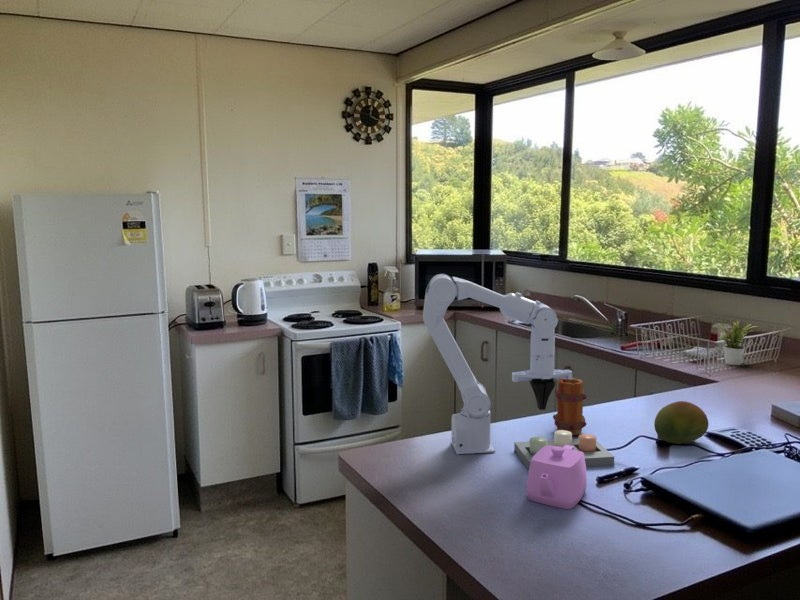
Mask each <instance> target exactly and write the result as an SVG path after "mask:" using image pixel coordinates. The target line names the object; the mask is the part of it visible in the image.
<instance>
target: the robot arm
mask: <svg viewBox="0 0 800 600" xmlns="http://www.w3.org/2000/svg"><path fill="white" fill-rule="evenodd" d="M468 298H470V299H473V300H476V301H479V302H481V303H484V304H487V305H491V306H494V307H496V308H499V311H500V313H501V314H502V316H505V317H507V318H510V319H513V320H515V321H518V322H520V323H523V324H526V325H529V324H531V331H530V332H531V333H530V347H529V348H530V351H529V354H530V356H529V359H530V360H529V363H530V366H529V367H530V369H527V370H522V371H516V372H515V371H513V372H512V373H511V381H512V382H514V383H518V382H529V384H530V386H531V388H532V391H533V393H534V396H535V401H536V405H537V408H538V409H539V410H540V411H543V410H546V409H547V404H548V401H549V398H550V395H551V393H552V392H553V390H554V388H555V387H556V382H555V380H560V379H568V380H570V379H572V378H573V371H572V370H571V369H555V347H556V346H555V344H556V341H555V340H556V337H555V331H556V329H555V328H556V327H557V325H558V324H559V318H558V317H557V314H556V312H555V310H554V309H552V308H551V307H550V306H548V305H547V304H545V303H543V302H540V301H539V300H537V299H536V300H535V301H534V300H532V299H529V298H526V297H525V296H522V293H520V292H517V291H516V292H515V293H513V292H509V293H507V294H501V293H498V292H496V291H493V290H491V289H489V288H486V287H484V286H482V285H479V284H478V283H474V282H472V281H469V280H466V279H464V278H459V277H457V276H452V277H451V276H449V275H448V274H445V273H439V274H438V273H437V274H436V275H434V276H433V277H431V278H430V280H429V283H428V284H427V287H426V289H425V295H424V303H423V310H422V320H423V323H424V325H425V327H426V328H427V330H428V332H429V335H430V336H431V338H432V340H433V342H434V343H435V345H436V347H437V349H438V351H439V352H440V354H441V356H442V358H443V360H444V362H445V364H446V366H447V368H448V369H449V372H450V373H451V375H452V377H453V379H454V381H455V382H456V384H457V388H458V389H459V392H460V395H461V398H462V401H463V406H462V408H460V412H458V413H453V414H452V415H451V440H450V443H451V445H452V447H453V449H454V452H455V454H456V455H468V454H484V453H488V454H489V453H495V452H496V449H495V448H494V447H493V445H492V444H491V410H490V409H491V399H490V397H489V396H488V394H487V389H486V386H485V385H483V384H482V383H480V382H479V381H478V380H477V378H476V376H475V374H474V373H473V372H472V370H471V368H470V366H469V364H468V362H467V360H466V358H465V356H464V355H463V353H462V351H461V349H460V347H459V345H458V343H457V342H456V339H455V338H454V336H453V334H452V332H451V330H450V328H449V326H448V324H447V322H446V320H445V319H444V317H445V315H446V313H447V310H448V307H449V306H450V305H451V304H452V303H453V302H454V300H455V299H457V301H461V300H464V299H468Z"/></svg>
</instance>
